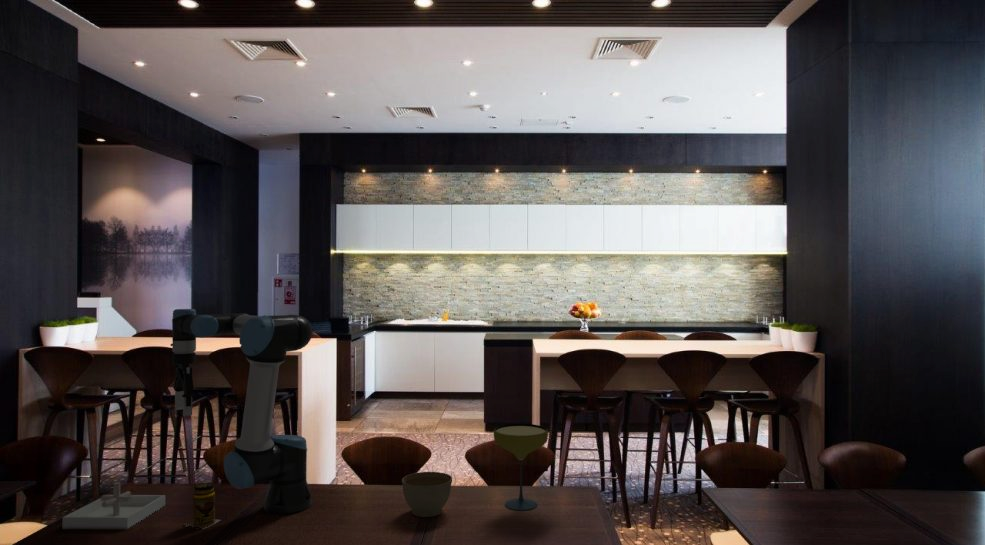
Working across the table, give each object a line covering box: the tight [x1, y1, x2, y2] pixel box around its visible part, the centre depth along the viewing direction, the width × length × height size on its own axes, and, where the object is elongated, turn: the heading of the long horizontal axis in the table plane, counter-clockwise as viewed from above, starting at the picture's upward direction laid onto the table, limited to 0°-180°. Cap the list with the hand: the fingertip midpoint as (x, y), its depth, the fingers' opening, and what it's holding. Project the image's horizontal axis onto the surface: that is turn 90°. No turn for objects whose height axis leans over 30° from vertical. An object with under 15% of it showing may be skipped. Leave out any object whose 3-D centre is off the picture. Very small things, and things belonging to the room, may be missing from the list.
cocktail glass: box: [493, 423, 549, 512], centre depth 201 cm, size 18×18×25 cm
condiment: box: [185, 482, 222, 530], centre depth 186 cm, size 7×8×12 cm
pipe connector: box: [100, 481, 133, 516], centre depth 192 cm, size 10×10×10 cm
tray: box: [61, 494, 166, 530], centre depth 192 cm, size 20×20×4 cm
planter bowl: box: [401, 471, 453, 518], centre depth 195 cm, size 16×16×11 cm
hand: (183, 412), depth 214 cm, fingers open, 13 cm apart
